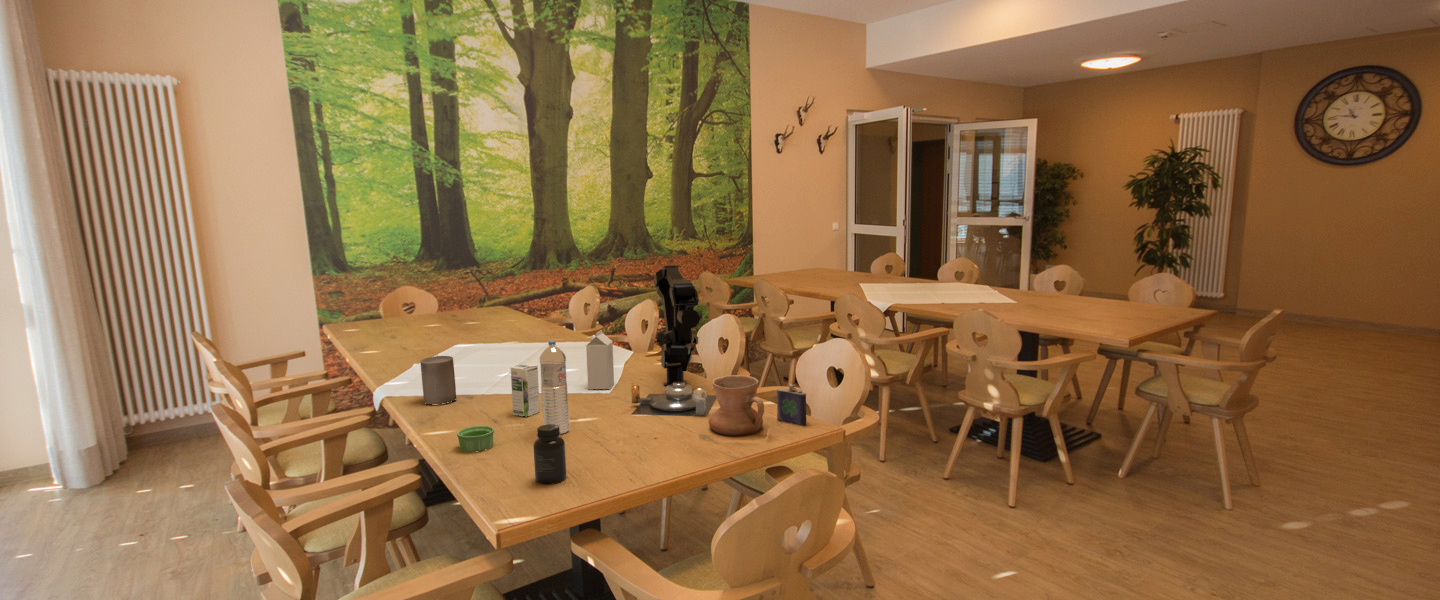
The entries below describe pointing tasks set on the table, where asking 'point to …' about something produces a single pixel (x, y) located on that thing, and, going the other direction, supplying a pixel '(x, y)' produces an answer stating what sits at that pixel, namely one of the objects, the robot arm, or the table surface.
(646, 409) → the base plate
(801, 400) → the flask
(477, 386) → the table surface
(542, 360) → the water bottle
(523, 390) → the syrup box
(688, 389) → the cover
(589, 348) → the milk carton
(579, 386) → the table surface
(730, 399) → the ceramic jug
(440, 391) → the pillar candle
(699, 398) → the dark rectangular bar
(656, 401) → the turntable
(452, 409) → the table surface
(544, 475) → the supplement bottle
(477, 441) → the ramekin
